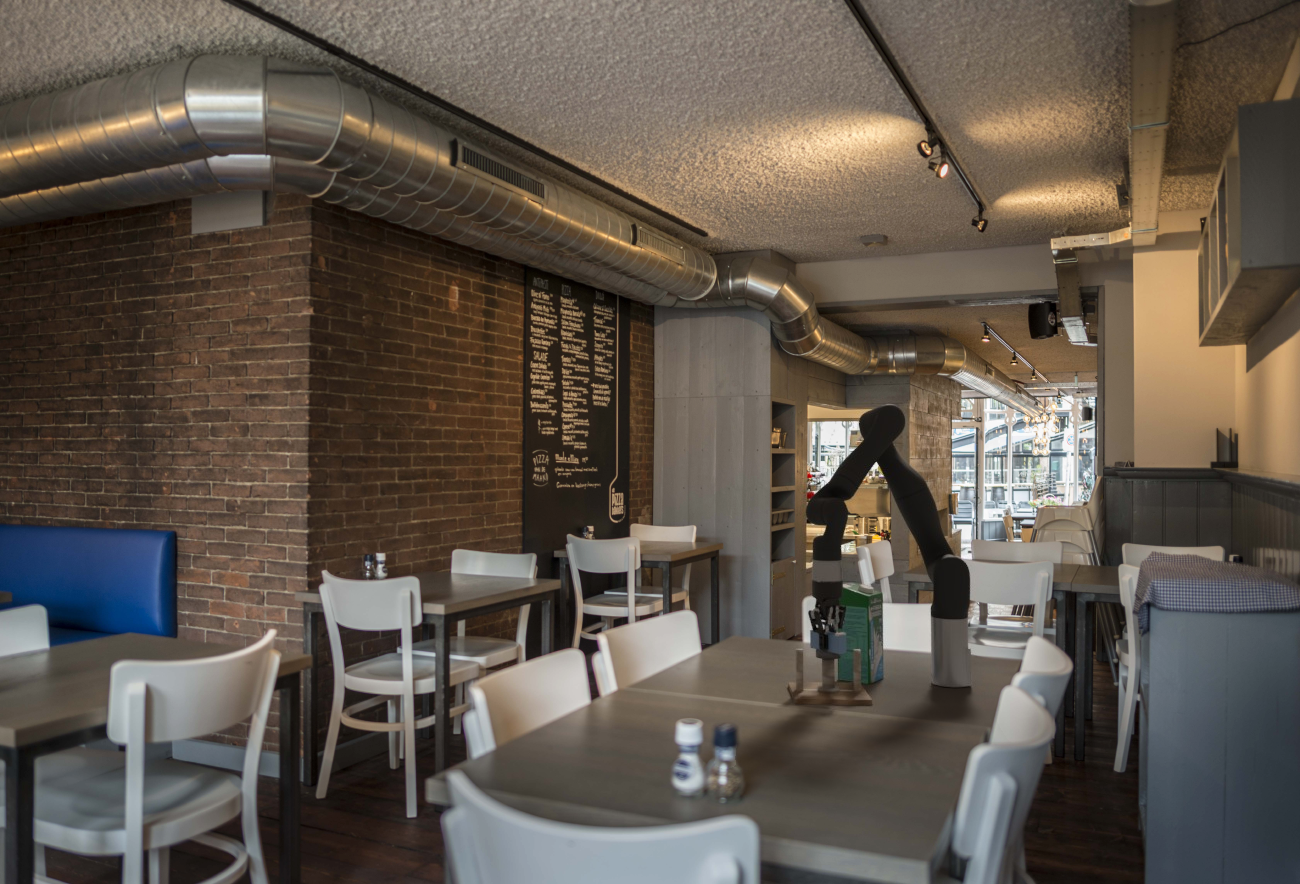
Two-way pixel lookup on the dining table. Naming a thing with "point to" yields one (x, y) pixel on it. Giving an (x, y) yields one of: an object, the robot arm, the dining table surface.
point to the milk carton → (862, 632)
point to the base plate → (829, 696)
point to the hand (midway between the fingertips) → (827, 648)
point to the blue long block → (829, 645)
